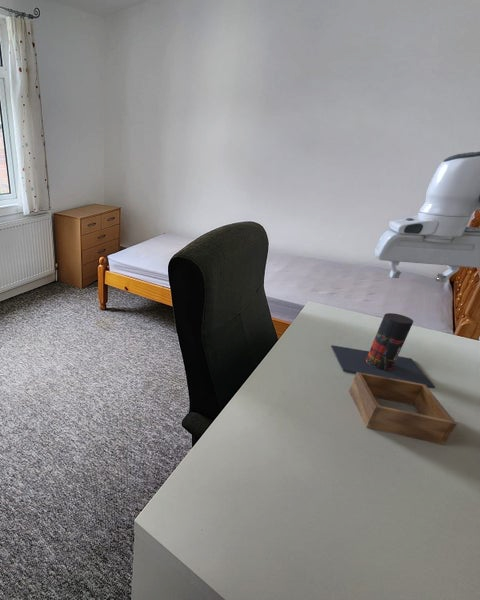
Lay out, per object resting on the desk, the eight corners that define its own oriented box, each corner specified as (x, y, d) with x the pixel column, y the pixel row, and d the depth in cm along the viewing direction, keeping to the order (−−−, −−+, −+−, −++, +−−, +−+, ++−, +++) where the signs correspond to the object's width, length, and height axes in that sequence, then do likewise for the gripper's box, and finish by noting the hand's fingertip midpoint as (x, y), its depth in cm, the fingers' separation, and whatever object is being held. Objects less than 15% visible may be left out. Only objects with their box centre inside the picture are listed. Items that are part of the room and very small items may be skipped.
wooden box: (415, 404, 83) (425, 384, 81) (444, 445, 72) (457, 424, 69) (349, 390, 88) (356, 371, 86) (366, 427, 77) (375, 406, 74)
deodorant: (367, 355, 101) (386, 311, 95) (393, 364, 98) (414, 318, 91) (364, 364, 98) (383, 318, 91) (390, 373, 94) (412, 325, 88)
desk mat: (410, 359, 100) (411, 358, 100) (434, 388, 89) (435, 386, 88) (331, 346, 107) (331, 345, 107) (343, 371, 96) (343, 369, 95)
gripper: (489, 225, 80) (463, 279, 86) (382, 220, 87) (364, 271, 93) (507, 231, 75) (478, 288, 80) (391, 225, 82) (372, 279, 88)
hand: (416, 279), depth 87 cm, fingers open, 8 cm apart
